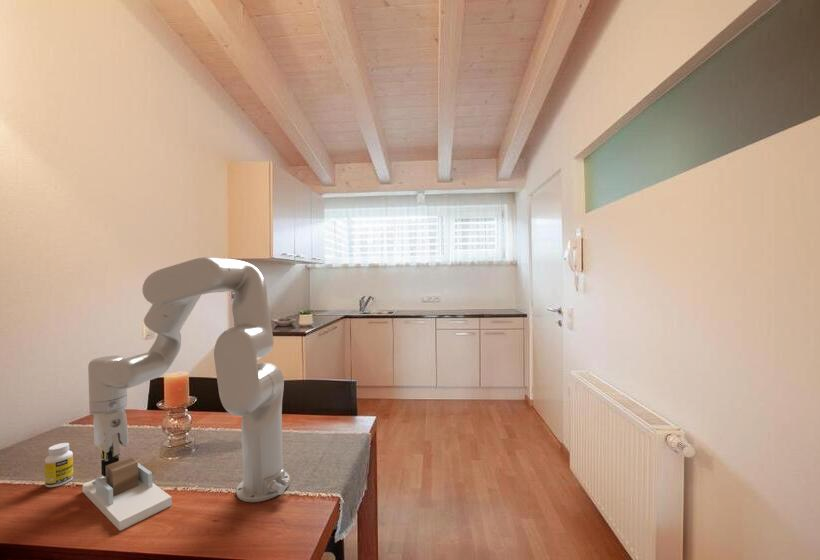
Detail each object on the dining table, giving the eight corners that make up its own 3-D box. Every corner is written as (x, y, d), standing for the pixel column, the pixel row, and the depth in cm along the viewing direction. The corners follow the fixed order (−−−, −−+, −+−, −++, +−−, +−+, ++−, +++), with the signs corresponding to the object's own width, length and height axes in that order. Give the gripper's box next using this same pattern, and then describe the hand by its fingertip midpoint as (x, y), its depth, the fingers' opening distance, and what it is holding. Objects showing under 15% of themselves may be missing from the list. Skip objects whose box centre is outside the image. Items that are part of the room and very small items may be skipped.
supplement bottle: (55, 489, 92) (54, 451, 92) (39, 487, 93) (38, 450, 93) (79, 477, 97) (77, 442, 97) (63, 475, 98) (62, 440, 98)
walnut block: (138, 485, 89) (137, 462, 89) (113, 496, 85) (112, 471, 84) (130, 479, 91) (130, 456, 91) (106, 489, 87) (105, 465, 87)
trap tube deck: (172, 505, 84) (171, 482, 84) (119, 530, 76) (119, 505, 75) (130, 473, 98) (129, 453, 98) (82, 491, 90) (82, 470, 90)
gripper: (137, 405, 91) (138, 475, 91) (116, 395, 100) (117, 459, 100) (99, 414, 85) (101, 490, 85) (80, 403, 93) (82, 471, 94)
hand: (110, 473), depth 92 cm, fingers closed
